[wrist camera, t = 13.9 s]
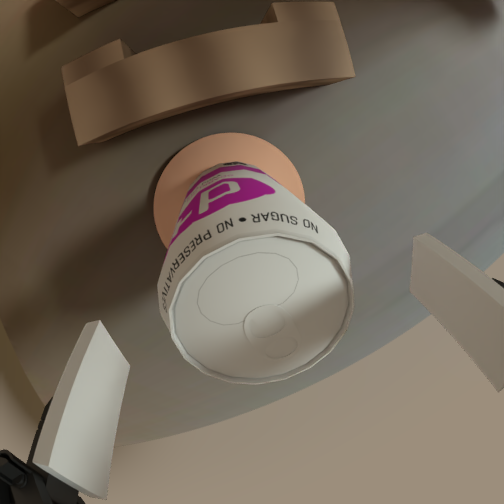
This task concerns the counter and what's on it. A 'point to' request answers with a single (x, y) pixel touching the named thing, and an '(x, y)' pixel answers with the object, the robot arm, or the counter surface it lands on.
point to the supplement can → (253, 279)
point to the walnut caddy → (202, 68)
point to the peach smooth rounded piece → (206, 156)
